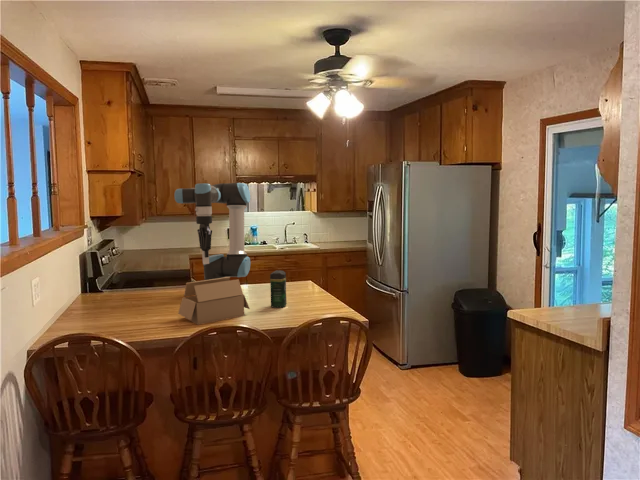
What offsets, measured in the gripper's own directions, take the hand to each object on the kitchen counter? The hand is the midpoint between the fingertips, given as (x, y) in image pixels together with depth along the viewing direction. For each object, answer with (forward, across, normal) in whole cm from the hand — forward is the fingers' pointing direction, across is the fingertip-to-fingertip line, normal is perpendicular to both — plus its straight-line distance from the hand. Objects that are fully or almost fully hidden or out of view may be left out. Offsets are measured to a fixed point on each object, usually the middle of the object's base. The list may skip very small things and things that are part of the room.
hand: (206, 263), depth 249 cm
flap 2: (+15, +14, +2) cm, 20 cm away
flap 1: (+15, -4, +1) cm, 15 cm away
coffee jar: (+25, +7, +36) cm, 45 cm away
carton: (+26, +5, +1) cm, 26 cm away
